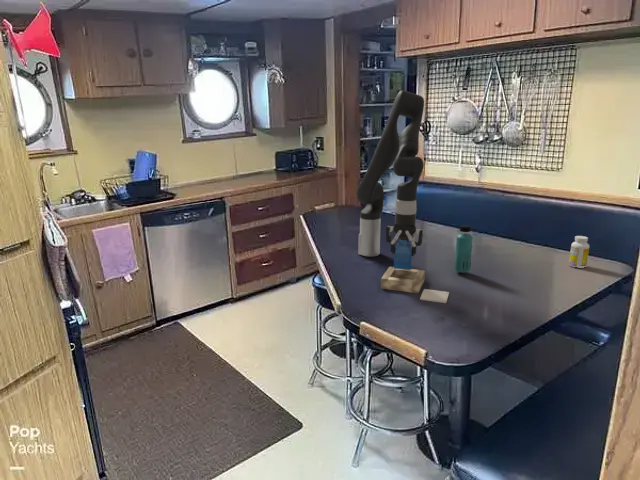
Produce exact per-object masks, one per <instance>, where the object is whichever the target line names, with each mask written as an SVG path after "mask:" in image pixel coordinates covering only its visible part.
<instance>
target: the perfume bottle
mask: <svg viewBox="0 0 640 480" xmlns="http://www.w3.org/2000/svg"><path fill="white" fill-rule="evenodd" d="M409 242H410V240H409V239H407V237H401V238H399V242H398V243H397V244H396V248H395V253H394V258H393V267H394V269H407V270H411V269H412V257H413V256H412V245H411V244H410V243H409Z"/></svg>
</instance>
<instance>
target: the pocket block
mask: <svg viewBox="0 0 640 480" xmlns="http://www.w3.org/2000/svg"><path fill="white" fill-rule="evenodd" d="M382 275H383V276H382V277H381V278H380V279H381V280H380V289H383V290H393V291H398V292H405V293H413V294H419V293H420V291H421V289H422V286H423V284H424V283H425V280H426V279H425V275H426V271H425V270H423V269H422V270H421V269H416V268H415V269H414V268H411V270H407V269H394V266H389V267H388V268H387V270H386V271H385V272H384V273H383V274H382Z"/></svg>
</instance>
